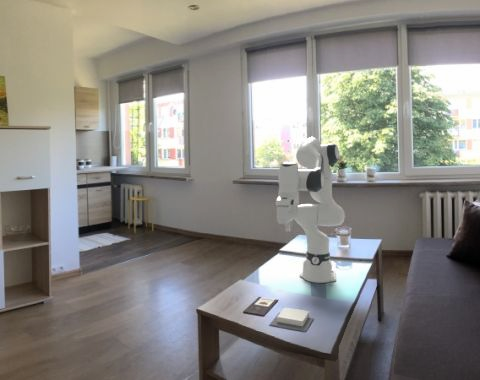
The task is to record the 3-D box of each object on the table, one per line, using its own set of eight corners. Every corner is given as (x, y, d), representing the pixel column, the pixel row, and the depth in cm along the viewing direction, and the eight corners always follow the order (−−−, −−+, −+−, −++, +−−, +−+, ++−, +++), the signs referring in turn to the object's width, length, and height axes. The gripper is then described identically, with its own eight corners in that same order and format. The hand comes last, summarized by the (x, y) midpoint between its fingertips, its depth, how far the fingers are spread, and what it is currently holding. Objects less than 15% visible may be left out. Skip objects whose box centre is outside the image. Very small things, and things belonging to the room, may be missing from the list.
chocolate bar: (243, 311, 155) (259, 296, 172) (243, 313, 156) (259, 298, 172) (263, 315, 152) (278, 299, 168) (263, 317, 152) (278, 301, 168)
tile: (284, 307, 155) (277, 316, 146) (309, 311, 151) (302, 321, 142) (284, 312, 155) (277, 322, 146) (309, 316, 151) (302, 326, 142)
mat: (279, 313, 155) (279, 312, 155) (313, 319, 149) (313, 318, 149) (269, 325, 144) (269, 324, 144) (306, 332, 138) (306, 331, 138)
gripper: (288, 196, 176) (287, 226, 177) (274, 201, 157) (273, 234, 158) (301, 197, 173) (301, 227, 174) (289, 202, 154) (288, 236, 156)
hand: (288, 231), depth 166 cm, fingers closed
